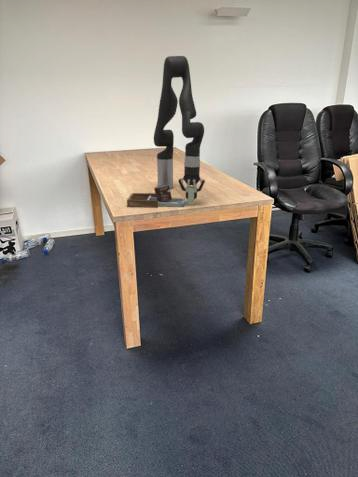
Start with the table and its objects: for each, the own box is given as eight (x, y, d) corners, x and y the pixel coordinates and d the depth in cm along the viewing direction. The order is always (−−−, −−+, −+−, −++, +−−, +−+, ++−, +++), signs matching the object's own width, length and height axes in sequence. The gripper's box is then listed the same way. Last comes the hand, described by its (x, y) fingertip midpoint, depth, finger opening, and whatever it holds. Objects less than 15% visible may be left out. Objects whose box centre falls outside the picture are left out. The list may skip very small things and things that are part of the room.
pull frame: (149, 200, 190) (149, 183, 186) (194, 201, 188) (194, 184, 184) (146, 205, 181) (146, 187, 177) (193, 207, 179) (194, 189, 176)
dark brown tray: (132, 199, 192) (131, 193, 191) (160, 199, 191) (160, 193, 190) (127, 207, 180) (126, 200, 178) (157, 207, 179) (157, 200, 177)
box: (161, 202, 180) (158, 188, 178) (156, 201, 185) (153, 187, 184) (172, 199, 183) (169, 185, 181) (167, 198, 188) (164, 185, 186)
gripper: (206, 163, 179) (205, 197, 186) (178, 163, 180) (177, 196, 187) (206, 167, 172) (204, 201, 179) (177, 166, 173) (176, 200, 180)
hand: (191, 198), depth 183 cm, fingers closed on pull frame, 3 cm apart
